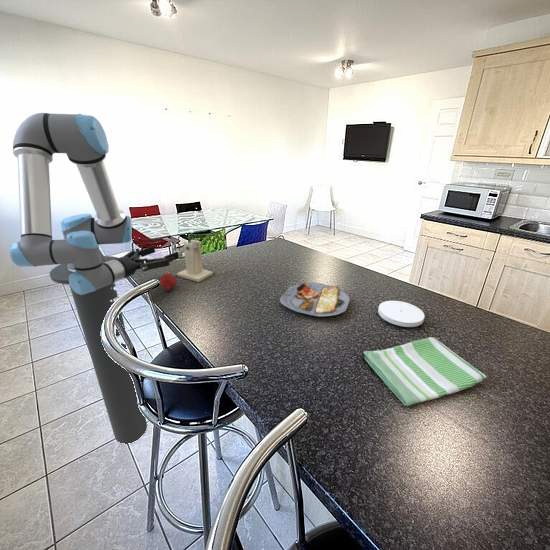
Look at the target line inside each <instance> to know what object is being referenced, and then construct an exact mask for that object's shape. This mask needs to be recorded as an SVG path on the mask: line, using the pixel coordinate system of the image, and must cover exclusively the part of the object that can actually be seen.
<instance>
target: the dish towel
mask: <svg viewBox="0 0 550 550" xmlns="http://www.w3.org/2000/svg"><path fill="white" fill-rule="evenodd" d="M362 352H363V354H364V355H365V356H364V360H365V362H366V363H368V365H369V366H370V368H371V369H373V371H374V372H375V374H377V376H378V377H379V378H380V379H381V380H382V381H383V383H384V384H385V385H386V386H387V387H388V388H389V389H390V391H391V392H392V393H393V394H394V395H395V396H396V397H397V399H398V400H399V401H400V402H401V403H402V404H403V405H404V406H405V407H410V406H413V405H416V404H419V403H423V402H427V401H431V400H436V399H440V398H442V397H445V396H447V395H452V394H455V393H458V392H461V391H464V390H466V389H470V388H473V387H474V386H476V385H478V384H479V383H481V382H483V381H484V380H486V379H487V375H486V374H484V373H483V372H482V371H480V370H479V369H477V368H475V367H474V366H473V365H472V364H470V363H469V362H468V361H466V360H465V359H463V358H462V357H461V356H460V355H458V354H457V353H456V352H454V351H453V350H452V349H450V348H449V347H448V346H446V345H445V344H444V343H443V342H441V341H439V339H438V338H436V337H434V336H433V337H432V336H431V337H425V338H421V339H417V340H413V341H410V342H407V343H404V344H401V345H395V346H392V347H389V348H386V349H378V350H365V351H362Z"/></svg>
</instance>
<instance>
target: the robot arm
mask: <svg viewBox="0 0 550 550" xmlns="http://www.w3.org/2000/svg"><path fill="white" fill-rule="evenodd" d="M16 129H17V130H16V132H15V134H14V135H13V136H14V137H13V142H12V154H13V156H15V158H16V159H17V174H18V198H19V199H18V200H19V201H18V202H19V225H20V227H19V228H20V241H15V242H13V243H11V245H10V248H9V257H10V259H11V262H12V263H13V264H14V265H16V266H18V267H21V268H23V267H35V268H36V267H43V266H54V265H55V266H56V265H61V264H68V265H67V267H68V271H69V272H71V273H72V274H70V276H69V284H70V286H71V288H72V289H73V290H74V291H75V292H76V293H77V294H80V295H84V294H87V293H90V292H93V291H96V290H98V289H100V288H102V287H105V286H107V285H109V284H112V283H115V284H116V283H117V282H120V281H122V280H124V279H127V278H130V277H132V276H134V275H135V273H136V271H137V270H142V272H147V271H150V270H155V269H159V268H164V267H169V266H170V265H171V262H174V261H176V260H179V259H180V258H179V256H178V252H175V253H173V252H172V253H170V254H167V255H164V256H163V257H157V258H147V256H149V255H152V254H155V253H156V248H155V245H151V246H148V247H146V248H143V249H140V248H135V249H132V250H131V251H129V252H127V253H126V254H125V255H123V256H121V257H118V258H117V259H115V260H111V261H108V262H107V260H106V258H105V257H104V256H105V255H104V254H103V252H102V251H101V249H100V245H116V244H117V245H118V244H119V245H120V244H125V243H130V242H131V241H132V239H133V227H132V226H133V225H132V218H131V216H130V215H126V214H125V212H124V211H123V210H122V209H120V208H119V205H118V202H117V198H116V195H115V193H114V189H113V187H112V183H111V181H110V177H109V174H108V172H107V171H108V170H107V169H106V165H105V162H104V160H105V159H106V157H107V154H108V153H109V149H110V148H109V142H108V137H107V135H106V132H105V130H104V127H103V125H102V123H101V122H100V121H99V120H98V118H96V116H93V115H89V114H82V113H77V114H75V113H49V112H37V113H33V114H32V115H30V116H28V117H27V118H25V119H24V120H23V121H22V122H21V124H20V125H19V126H18V128H16ZM54 154H66V156H67V158H68V160H69V162H70V163H72V164H74V165H76V168H77V169H78V172H79V175H80V177H81V179H82V182H83V184H84V187H85V189H86V191H87V194H88V197H89V199H90V201H91V204H92V206H93V209H94V211H95V215H94V217H93V215H92V214H91V213H81V214H75V215H71V216H68V217H65V218H62V220H61V221H60V228H61V232H62V236H63V239H53V228H52V225H53V224H52V209H51V208H52V205H51V182H50V181H51V180H50V164H51V163H52V162H53V160H54V159H53V157H54V156H53V155H54ZM143 257H144V258H143ZM178 258H179V259H178ZM69 284H68V285H69ZM70 286H69V287H70Z"/></svg>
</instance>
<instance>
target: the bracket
mask: <svg viewBox="0 0 550 550" xmlns="http://www.w3.org/2000/svg"><path fill="white" fill-rule="evenodd" d="M193 242H195V243H196V245H197V248H195V249H194V246H193V244H191V243H193ZM201 244H202V243H201V241H200V240H196V239H190V242H186V241H185V242H183V250H184V251H185V252H184V259H185V269H183V270H181V271H179V272H177V273H176V276H177V277H180V278H182V279H186V280H190V281H194V282H197V283H200V282H202V281H204V280H206V279H207V278H209V277H211V276H213V275H214V271H211V270H208V269H204V267H203V257H202V255H203V254H202V245H201Z"/></svg>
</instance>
